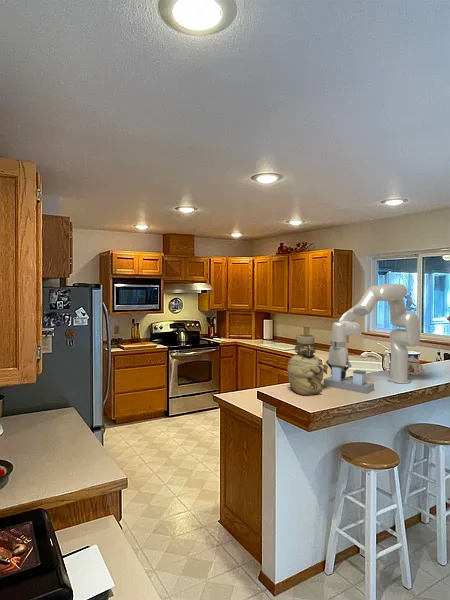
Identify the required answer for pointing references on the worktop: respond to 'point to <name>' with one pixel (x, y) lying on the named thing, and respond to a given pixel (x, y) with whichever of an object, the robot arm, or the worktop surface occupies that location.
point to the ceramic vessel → (306, 367)
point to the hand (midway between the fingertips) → (338, 377)
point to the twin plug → (359, 377)
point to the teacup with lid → (413, 366)
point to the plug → (336, 373)
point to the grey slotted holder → (349, 385)
